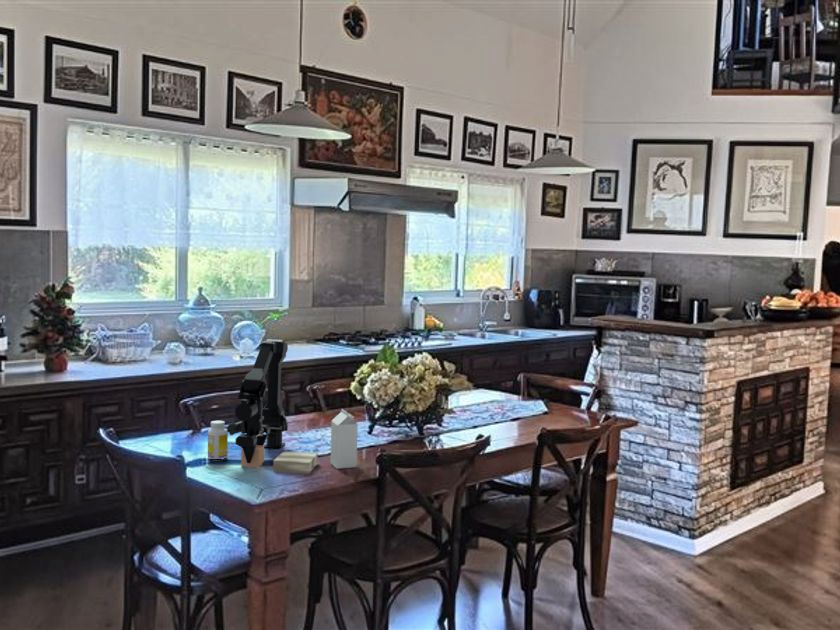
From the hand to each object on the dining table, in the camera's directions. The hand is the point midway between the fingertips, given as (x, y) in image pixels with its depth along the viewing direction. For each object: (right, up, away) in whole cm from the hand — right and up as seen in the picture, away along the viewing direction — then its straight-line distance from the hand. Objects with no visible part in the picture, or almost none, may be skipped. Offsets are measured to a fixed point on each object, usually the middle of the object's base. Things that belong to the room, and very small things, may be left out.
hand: (252, 459), depth 275 cm
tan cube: (0, -2, 0) cm, 2 cm away
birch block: (+15, -3, -2) cm, 15 cm away
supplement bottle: (-13, -1, +6) cm, 15 cm away
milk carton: (+30, -3, +2) cm, 31 cm away
